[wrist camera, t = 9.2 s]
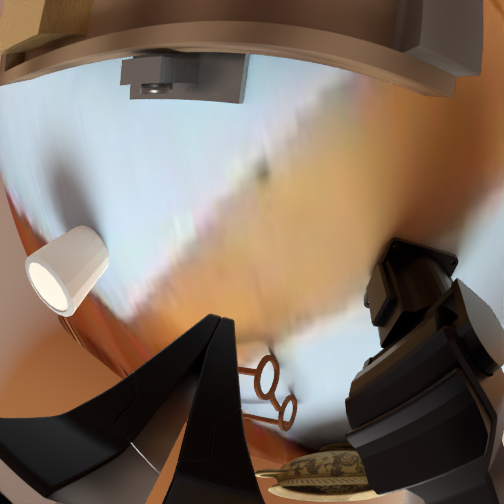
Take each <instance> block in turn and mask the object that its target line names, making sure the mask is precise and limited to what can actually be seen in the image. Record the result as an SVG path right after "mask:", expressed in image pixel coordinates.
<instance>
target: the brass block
mask: <svg viewBox="0 0 504 504" xmlns="http://www.w3.org/2000/svg"><path fill="white" fill-rule="evenodd" d="M93 2H94V0H5V3H4V7H3V11H2V15H1V19H0V55H5V54H12V53H19V52H28V51H36V50H39V49H42V48H45V47H47V46H50V45H53V44H56V43H59V42H63V41H66V40H69V39H73V38H76V37H80V36H84V35H87V30H88V25H89V20H90V15H91V10H92V6H93Z"/></svg>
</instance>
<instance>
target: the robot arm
mask: <svg viewBox="0 0 504 504" xmlns="http://www.w3.org/2000/svg"><path fill="white" fill-rule="evenodd" d="M394 244H398V245H397V246H396V247H393V245H394ZM452 260H454V261H453V262H452V263H451V261H452ZM457 265H458V258H457V257H456V256H455V255H454V254H450V253H447V252H444V251H441V250H437V249H434V248H431V247H427V246H424V245H420V244H417V243H413V242H410V241H406V240H403V239H399V238H393V239H391V240H390V242H389V244H388V246H387V249H386V251H385V254H384V256H383V258H382V261H380V262H379V263H378V264H377V266H376V268H375V270H374V272H373V275H372V277H371V279H370V281H369V284H368V286H367V294H366V296H365V298H364V306H365V307H366V308H370V313H371V320H372V324H373V326H376V327H378V331H379V338H380V345H381V348H384V349H383V350H382V351H380V352H379V353H378V354H377V355H375V356H374V357H373V358H372V357H371V358H369V359H368V360H367V361H365V363H364V367H363V370H362V371H360V372H359V373H357V375H356V376H355V378H354V380H353V381H352V383H351V388H350V392H349V397H347V398H346V399H345V406H346V414H347V417H348V421H349V424H350V426H351V428H352V431H350V432H348V433H346V434H345V438H346V439H347V440H348V441H349V442H350V443H351V445H352V446H353V447H354V448H355V449H356V451H357V453H358V455H359V456H360V458H361V460H362V463H363V466H364V469H365V473H366V477H367V481H368V484H369V486H370V487H371V488H372V489H373V490H374V492H375V493H376V494H377V495H379V496H381V495H386V494H390V493H393V492H396V491H400V490H404V489H406V490H408V491H410V492H411V493H413V494H415V495H417V496H419V497H420V498H422V500H423V501H424V503H425V504H504V446H503V443H502V436H503V431H504V373H503V371H502V368H501V366H503V364H504V330H503V328H502V326H501V324H500V322H499V321H498V319H497V317H496V316H495V314H494V312H493V311H492V309H491V308H490V306H489V305H487V304H486V303H485V302H484V301H483V300H482V299H481V298H480V297H479V296H478V295H477V294H475V293H474V292H473V291H472V290H471V289H470V288H469V287H467V286H466V285H465V284H464V283H463V282H462V281H461V280H459V279H458V278H456V279H455V281H454V282H453V280H452V278H451V276H452V274H453V272H454V270H455V268H456V266H457ZM368 302H369V303H368ZM188 416H189V418H188ZM187 418H188V422H187V426H186V430H185V434H184V438H183V442H182V446H181V450H180V454H179V458H178V463H177V466H176V469H175V473H174V476H173V479H172V482H171V484H170V487H169V489H168V491H167V494H166V496H165V498H164V501H163V503H162V504H265V502H264V500H263V497H262V494H261V492H260V489H259V486H258V483H257V479H256V476H255V472H254V469H253V465H252V462H251V459H250V454H249V451H248V447H247V442H246V438H245V432H244V425H243V417H242V409H241V397H240V385H239V374H238V362H237V349H236V336H235V323H234V320H233V319H229V318H225V317H222V318H221V316H218V315H214V314H208V315H207V316H206V317H204V318H203V319H202V320H200V321H199V322H198V323H197V324H195V325H194V326H193V327H192V328H190V329H189V330H188V331H186V332H185V333H184V334H182V335H181V336H180V337H179V338H177V339H176V340H175V341H173V342H172V343H171V344H169V345H168V346H167V347H166V348H164V349H163V350H162V351H160V352H159V353H158V354H156V355H155V356H154V357H152V358H151V359H150V360H149V361H147V362H146V363H145V364H143V365H142V366H141V367H139V368H138V369H137V370H135V371H134V373H131V374H130V375H128V376H127V377H126V378H124V379H123V380H122V381H120V382H119V383H117V384H116V385H114V386H113V387H112V388H110V389H108V390H107V391H105V392H103V393H101V394H100V395H98V396H96V397H94V398H93V399H91V400H89V401H87V402H85V403H83V404H82V405H80V406H78V407H76V408H74V409H72V410H70V411H69V412H66V413H63V414H61V415H57V416H51V417H36V418H0V504H145V503H146V501H147V498H148V496H149V495H150V493H151V491H152V489H153V487H154V485H155V483H156V481H157V479H158V477H159V474H160V473H161V471H162V469H163V466H164V465H165V463H166V461H167V459H168V457H169V454H170V452H171V450H172V448H173V446H174V444H175V442H176V440H177V438H178V436H179V434H180V432H181V430H182V428H183V426H184V424H185V422H186V420H187Z"/></svg>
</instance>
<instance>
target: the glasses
mask: <svg viewBox="0 0 504 504" xmlns="http://www.w3.org/2000/svg"><path fill="white" fill-rule="evenodd" d="M268 361H270V362H271V363H272V364H273V367H274V380H273V383H272V386H271V388H270V390H269V392H268V393H267V394H264V393H263V392H262V390H261V386H260V378H261V373H262V370H263V368H264V366H265V365H266V363H267V362H268ZM238 373H239V374H245V375H252V376H255V377H254V388H255V392H256V394H257V396H258V397H259V398H260V399H262V400H269V399H270V401H271V403H272V405H273V407H274V408H275V410H276V411H279V416H278V420H275V419H270V418H265V417H260V416H255V415H251V414H242V417H243V418H248V419H252V420H256V421H261V422H266V423H270V424H276V425H279V427H280V429H281V430H283V431H288V430H289V429H290V428H291V426H292V424H293V422H294V420H295V417H296V412H297V401H296V398H295V397H294V396H291V395H289V396H287V397H286V399H285V400H284V402H283V404H282V406H281V407H280V405H279V403H278V402H277V400H276V398H275V394H274V392H275V390H276V387H277V384H278V380H279V374H280V372H279V364H278V362H277V360H276V358H275V357H274V356H273V355H266V356H264V357H263V358H262V359H261V361H260V363H259V364H258V367H257V369H251V368H244V367H238ZM290 400H291V401H292V404H293V412H292V416H291V419H290V421H289V422H286V421H283V415H284V411H285V408H286V406H287V404H288V402H289V401H290Z"/></svg>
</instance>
